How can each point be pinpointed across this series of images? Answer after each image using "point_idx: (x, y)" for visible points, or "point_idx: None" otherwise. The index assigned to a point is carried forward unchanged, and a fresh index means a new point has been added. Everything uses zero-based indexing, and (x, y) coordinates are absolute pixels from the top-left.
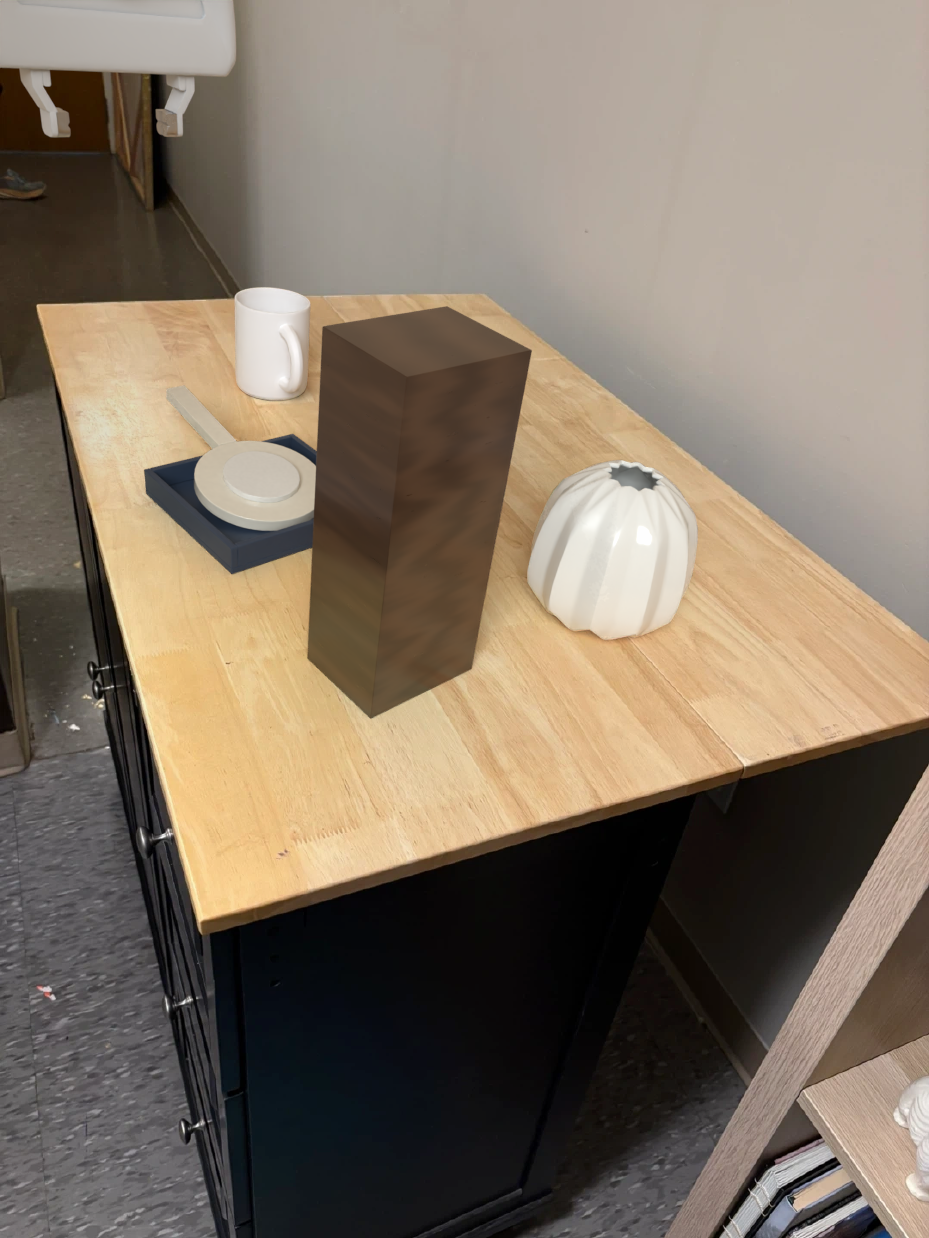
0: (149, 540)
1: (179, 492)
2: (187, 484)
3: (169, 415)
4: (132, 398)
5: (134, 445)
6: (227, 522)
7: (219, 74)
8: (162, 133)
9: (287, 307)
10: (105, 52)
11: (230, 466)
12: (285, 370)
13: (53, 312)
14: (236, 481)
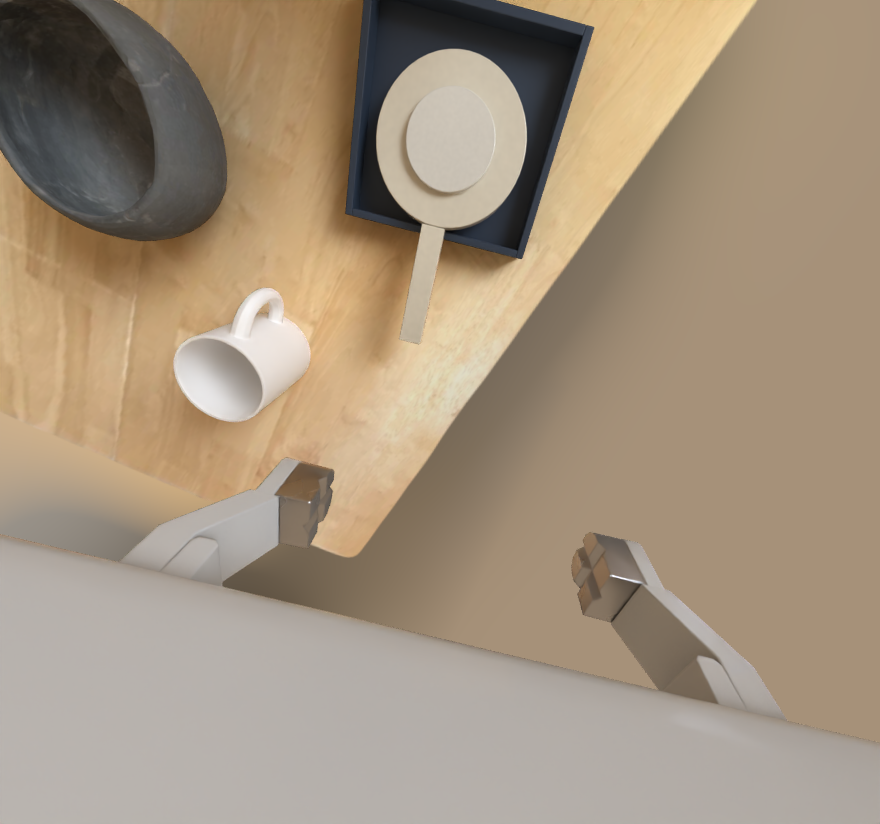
0: (582, 179)
1: (502, 227)
2: (485, 235)
3: (397, 364)
4: (402, 408)
5: (460, 339)
6: None
7: None
8: (328, 489)
9: (200, 384)
10: (542, 750)
11: (469, 176)
12: (267, 322)
13: (356, 551)
14: (485, 147)
